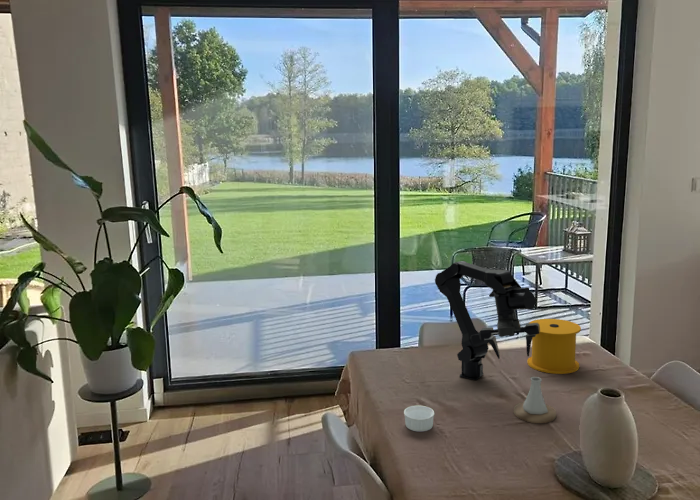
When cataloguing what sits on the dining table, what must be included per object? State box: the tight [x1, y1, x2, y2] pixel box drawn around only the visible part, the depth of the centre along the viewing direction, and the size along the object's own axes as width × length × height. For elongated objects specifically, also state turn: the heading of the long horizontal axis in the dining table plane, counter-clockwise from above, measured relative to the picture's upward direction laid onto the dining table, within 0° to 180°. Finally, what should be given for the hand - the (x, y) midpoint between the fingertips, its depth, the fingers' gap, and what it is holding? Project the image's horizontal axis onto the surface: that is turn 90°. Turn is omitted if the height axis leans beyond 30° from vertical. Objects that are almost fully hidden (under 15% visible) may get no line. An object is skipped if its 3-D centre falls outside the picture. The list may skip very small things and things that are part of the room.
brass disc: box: [513, 401, 557, 424], centre depth 174 cm, size 12×12×1 cm
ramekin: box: [403, 405, 435, 433], centre depth 169 cm, size 9×9×4 cm
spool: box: [526, 318, 582, 375], centre depth 211 cm, size 18×18×15 cm
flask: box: [523, 376, 548, 415], centre depth 173 cm, size 7×7×10 cm
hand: (513, 357), depth 187 cm, fingers open, 9 cm apart
